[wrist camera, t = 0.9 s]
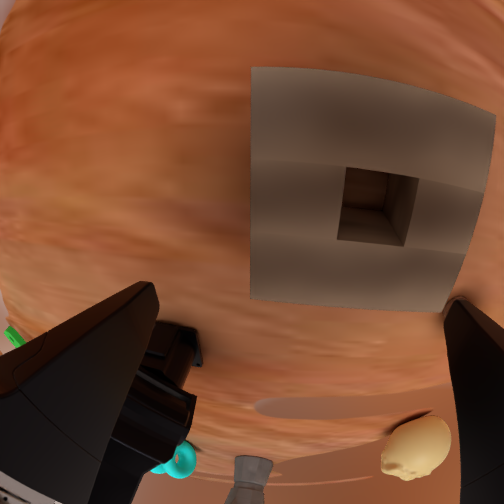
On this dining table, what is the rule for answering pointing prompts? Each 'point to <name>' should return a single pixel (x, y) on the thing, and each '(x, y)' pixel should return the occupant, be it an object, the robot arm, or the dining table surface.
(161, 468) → the donuts
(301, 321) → the dining table surface
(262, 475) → the coffeepot
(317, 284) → the block
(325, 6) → the dining table surface
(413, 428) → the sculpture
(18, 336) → the mechanical part
